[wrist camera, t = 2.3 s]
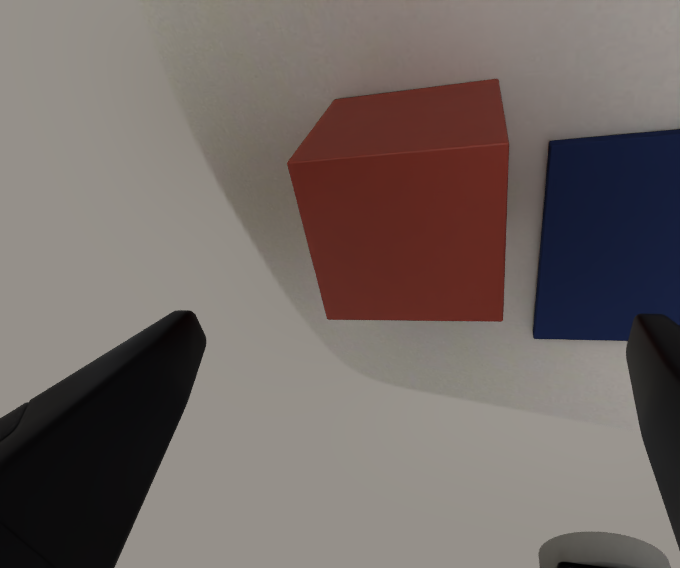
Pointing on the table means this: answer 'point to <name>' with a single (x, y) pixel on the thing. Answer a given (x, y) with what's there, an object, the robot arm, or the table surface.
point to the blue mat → (609, 235)
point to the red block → (408, 204)
